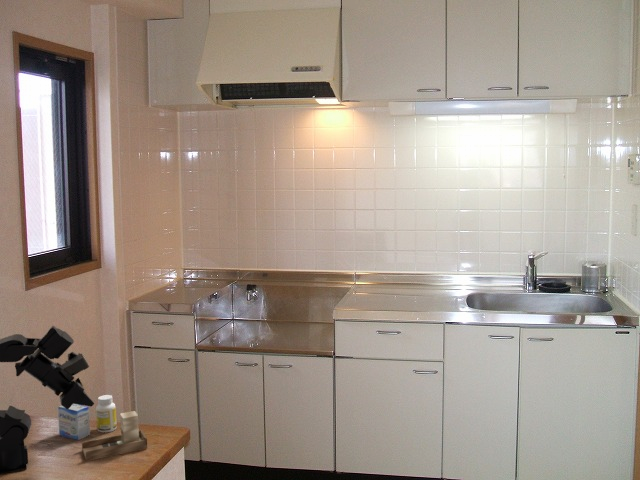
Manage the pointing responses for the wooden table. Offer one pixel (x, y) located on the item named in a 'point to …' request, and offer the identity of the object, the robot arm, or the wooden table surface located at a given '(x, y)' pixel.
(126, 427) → the cream block
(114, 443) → the box
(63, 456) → the wooden table surface
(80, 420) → the medicine box
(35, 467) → the wooden table surface
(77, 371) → the robot arm
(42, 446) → the wooden table surface
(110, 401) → the supplement bottle
